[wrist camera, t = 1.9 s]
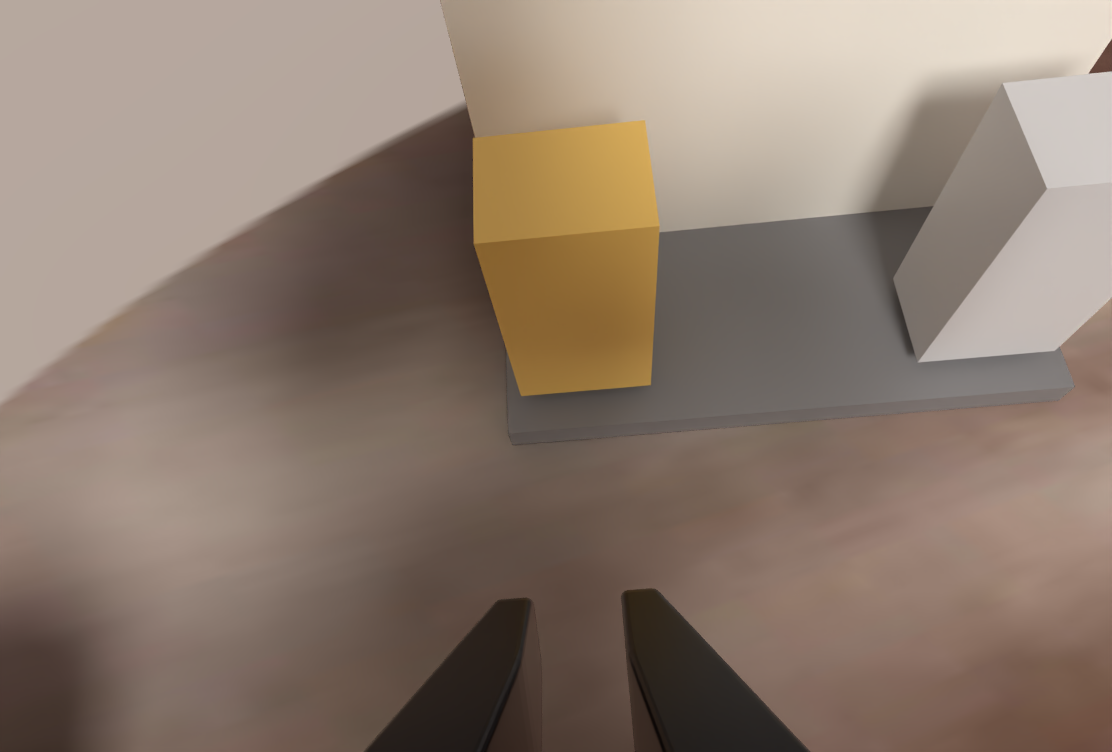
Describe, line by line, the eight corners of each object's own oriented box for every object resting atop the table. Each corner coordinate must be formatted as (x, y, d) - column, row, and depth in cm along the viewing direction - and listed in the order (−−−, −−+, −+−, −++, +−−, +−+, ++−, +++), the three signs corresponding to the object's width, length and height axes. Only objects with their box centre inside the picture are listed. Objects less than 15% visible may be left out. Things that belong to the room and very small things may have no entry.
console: (1058, 400, 24) (1387, 133, 13) (512, 444, 25) (428, 227, 14) (957, 130, 29) (1142, -218, 18) (504, 176, 29) (436, -131, 19)
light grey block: (1054, 350, 23) (1249, 169, 16) (917, 362, 23) (1047, 188, 16) (1022, 266, 24) (1188, 63, 17) (893, 278, 24) (1002, 82, 17)
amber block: (650, 385, 23) (659, 226, 16) (521, 396, 24) (473, 244, 17) (640, 301, 25) (644, 120, 18) (517, 312, 25) (473, 137, 18)
